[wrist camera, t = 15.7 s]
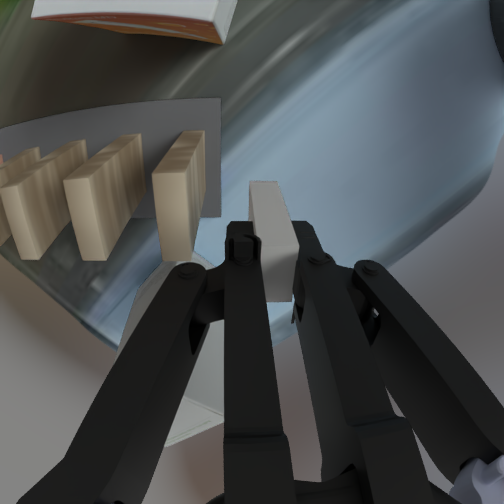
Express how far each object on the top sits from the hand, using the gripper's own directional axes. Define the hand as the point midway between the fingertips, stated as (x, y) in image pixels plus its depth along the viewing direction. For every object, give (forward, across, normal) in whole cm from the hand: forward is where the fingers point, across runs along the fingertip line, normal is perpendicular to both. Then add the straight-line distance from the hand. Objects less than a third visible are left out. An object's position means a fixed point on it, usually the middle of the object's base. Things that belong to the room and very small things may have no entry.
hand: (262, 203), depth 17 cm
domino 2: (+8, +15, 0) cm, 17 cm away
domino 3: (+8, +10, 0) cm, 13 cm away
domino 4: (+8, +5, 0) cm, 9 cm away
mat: (+9, +15, 0) cm, 17 cm away
